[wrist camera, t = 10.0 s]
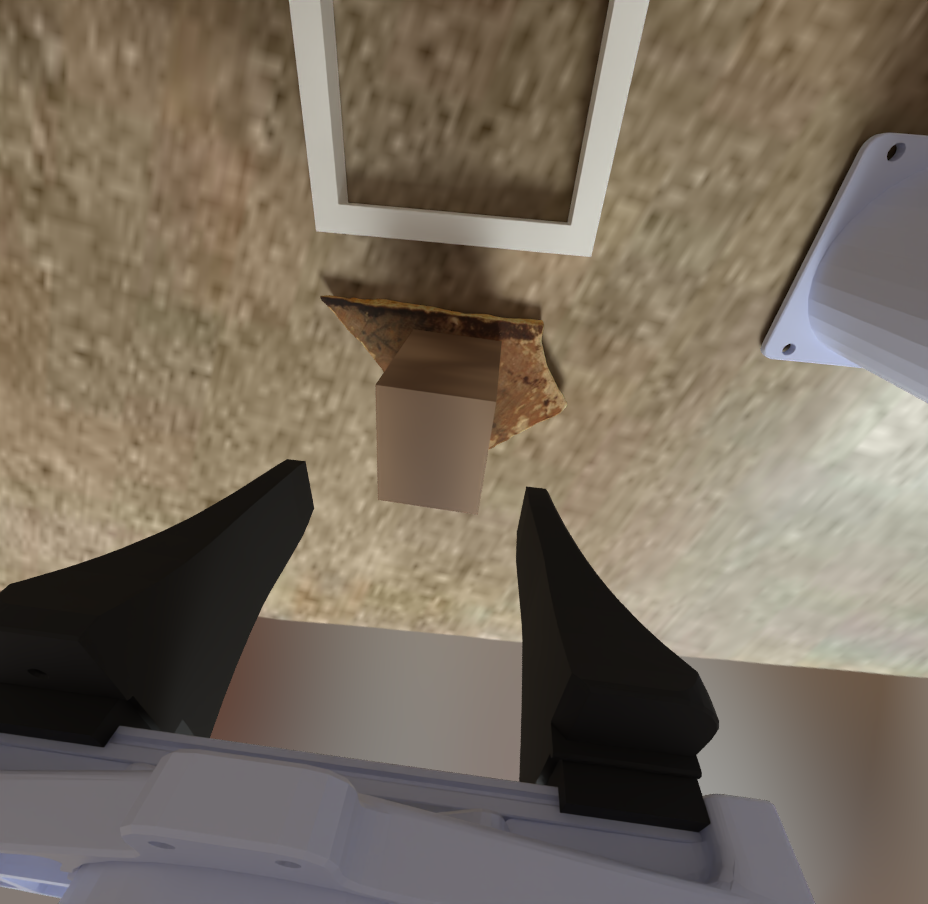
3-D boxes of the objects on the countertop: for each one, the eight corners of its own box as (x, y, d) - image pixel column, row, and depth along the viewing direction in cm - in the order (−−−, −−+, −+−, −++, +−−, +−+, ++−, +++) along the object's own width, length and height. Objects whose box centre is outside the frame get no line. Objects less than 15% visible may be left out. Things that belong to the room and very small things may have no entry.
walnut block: (501, 341, 18) (496, 401, 13) (486, 435, 21) (477, 514, 16) (413, 329, 18) (375, 384, 13) (410, 424, 21) (377, 499, 16)
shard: (330, 289, 19) (315, 299, 18) (459, 177, 16) (454, 178, 15) (462, 449, 24) (459, 467, 23) (582, 384, 21) (587, 401, 20)
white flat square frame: (686, -206, 11) (704, -244, 10) (586, 251, 17) (591, 256, 16) (279, -229, 11) (257, -268, 10) (327, 227, 17) (316, 231, 16)
